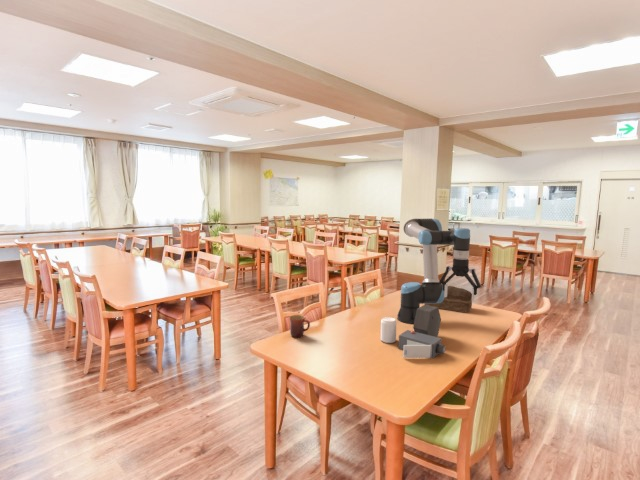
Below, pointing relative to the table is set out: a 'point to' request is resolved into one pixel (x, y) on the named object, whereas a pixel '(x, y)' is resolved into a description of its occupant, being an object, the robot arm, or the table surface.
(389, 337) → the beverage can
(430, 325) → the grey bevelled block
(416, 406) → the table surface
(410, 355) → the door
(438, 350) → the camcorder
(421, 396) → the table surface
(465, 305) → the bread
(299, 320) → the mug
